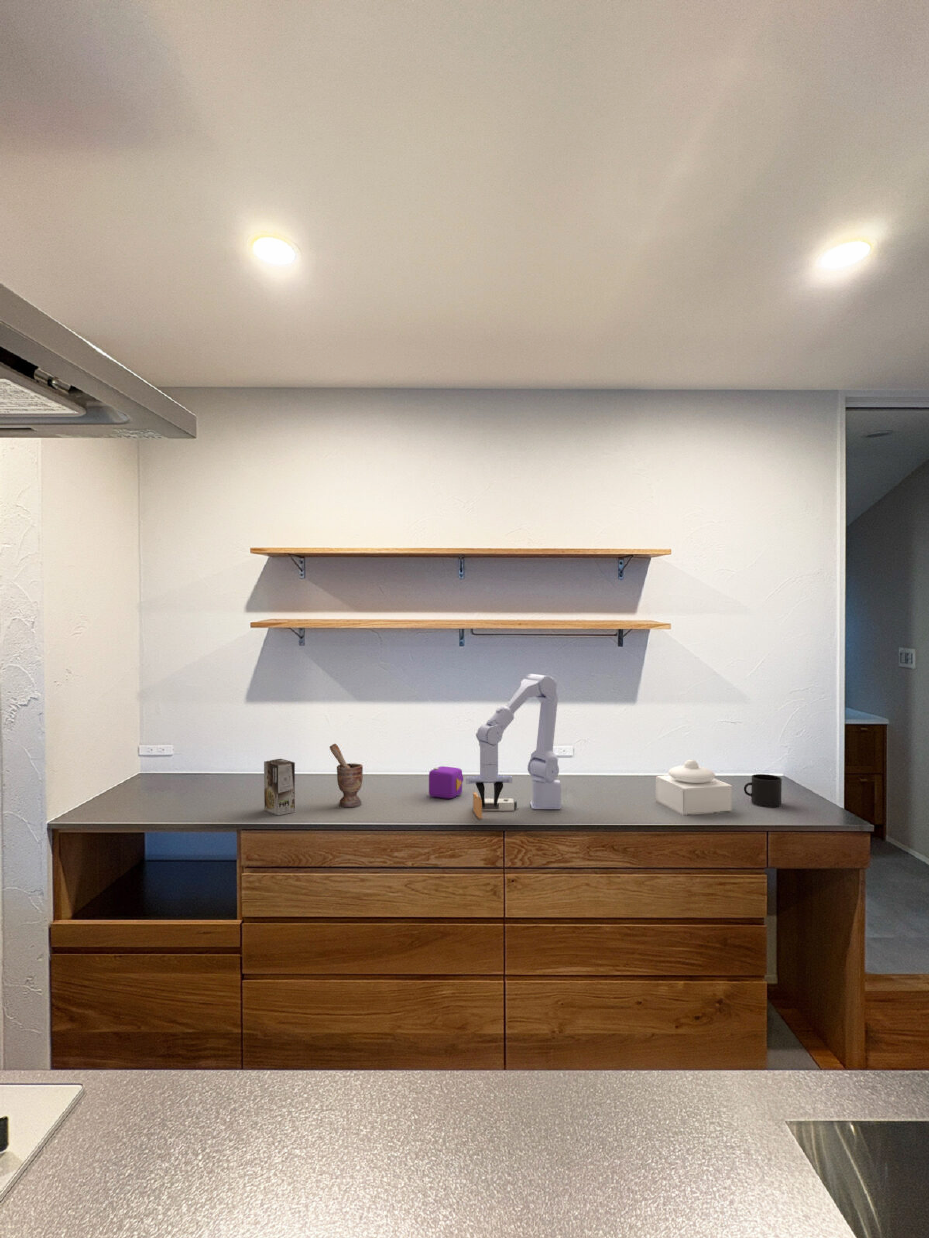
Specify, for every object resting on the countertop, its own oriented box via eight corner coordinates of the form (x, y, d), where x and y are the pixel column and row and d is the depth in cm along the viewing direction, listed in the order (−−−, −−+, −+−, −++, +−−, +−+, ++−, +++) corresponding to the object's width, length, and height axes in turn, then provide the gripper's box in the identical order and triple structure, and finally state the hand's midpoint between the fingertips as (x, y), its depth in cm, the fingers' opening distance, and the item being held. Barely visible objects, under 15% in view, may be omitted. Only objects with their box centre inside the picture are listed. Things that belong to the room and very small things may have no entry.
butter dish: (700, 798, 256) (701, 752, 256) (731, 812, 238) (732, 763, 238) (655, 801, 251) (655, 755, 251) (683, 815, 234) (684, 766, 234)
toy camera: (467, 791, 263) (467, 763, 263) (456, 800, 250) (456, 771, 250) (438, 788, 266) (438, 761, 266) (426, 798, 253) (426, 769, 253)
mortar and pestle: (325, 807, 241) (325, 747, 240) (331, 800, 250) (331, 742, 249) (359, 808, 240) (360, 747, 240) (364, 801, 249) (364, 742, 249)
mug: (740, 799, 254) (741, 773, 254) (777, 800, 252) (777, 774, 252) (746, 806, 245) (746, 779, 245) (784, 808, 243) (784, 781, 243)
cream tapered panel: (515, 806, 244) (515, 797, 243) (517, 810, 238) (517, 801, 238) (473, 806, 243) (473, 797, 243) (474, 810, 238) (474, 801, 238)
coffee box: (295, 812, 236) (295, 762, 235) (277, 816, 231) (277, 765, 231) (281, 806, 242) (281, 757, 242) (263, 810, 238) (263, 760, 237)
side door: (472, 810, 238) (472, 791, 238) (475, 810, 238) (475, 791, 238) (479, 818, 228) (479, 799, 228) (481, 818, 228) (481, 799, 228)
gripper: (510, 759, 235) (510, 801, 236) (465, 760, 234) (465, 802, 235) (513, 764, 228) (513, 807, 229) (466, 765, 227) (466, 809, 228)
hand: (489, 805), depth 231 cm, fingers open, 3 cm apart
